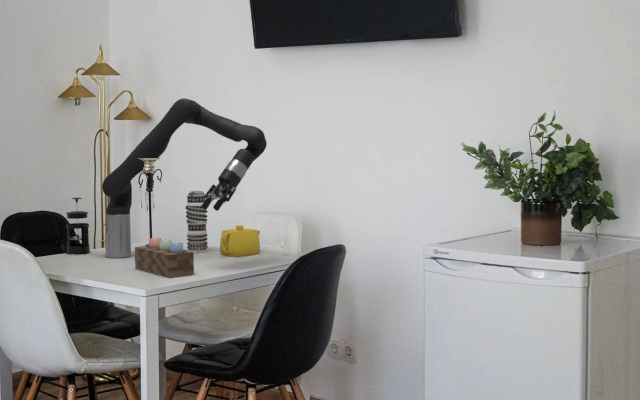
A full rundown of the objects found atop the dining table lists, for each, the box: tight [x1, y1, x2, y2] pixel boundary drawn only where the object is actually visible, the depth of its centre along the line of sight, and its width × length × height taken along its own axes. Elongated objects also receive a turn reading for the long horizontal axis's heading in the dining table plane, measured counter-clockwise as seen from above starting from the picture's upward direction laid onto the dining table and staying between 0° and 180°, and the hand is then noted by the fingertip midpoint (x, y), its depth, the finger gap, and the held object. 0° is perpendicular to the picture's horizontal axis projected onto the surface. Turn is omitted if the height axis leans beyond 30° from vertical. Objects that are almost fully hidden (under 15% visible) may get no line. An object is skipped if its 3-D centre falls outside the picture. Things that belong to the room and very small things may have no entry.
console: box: [134, 245, 195, 279], centre depth 308 cm, size 25×10×8 cm, turn 39°
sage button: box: [160, 239, 173, 251], centre depth 308 cm, size 4×4×6 cm
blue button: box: [171, 241, 184, 253], centre depth 302 cm, size 4×4×6 cm
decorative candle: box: [185, 190, 209, 253], centre depth 355 cm, size 9×9×25 cm
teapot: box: [219, 224, 261, 258], centre depth 348 cm, size 20×12×12 cm, turn 137°
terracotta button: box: [148, 237, 162, 248], centre depth 314 cm, size 4×4×6 cm
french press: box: [65, 197, 91, 255], centre depth 352 cm, size 12×9×23 cm
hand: (209, 208), depth 310 cm, fingers open, 8 cm apart
